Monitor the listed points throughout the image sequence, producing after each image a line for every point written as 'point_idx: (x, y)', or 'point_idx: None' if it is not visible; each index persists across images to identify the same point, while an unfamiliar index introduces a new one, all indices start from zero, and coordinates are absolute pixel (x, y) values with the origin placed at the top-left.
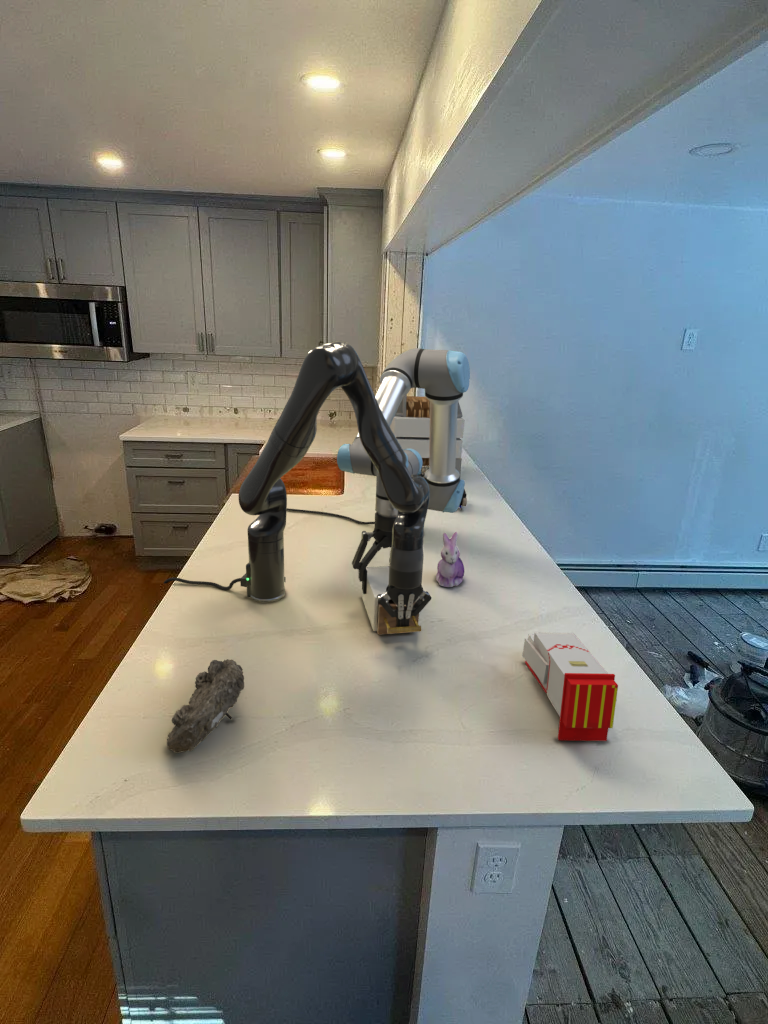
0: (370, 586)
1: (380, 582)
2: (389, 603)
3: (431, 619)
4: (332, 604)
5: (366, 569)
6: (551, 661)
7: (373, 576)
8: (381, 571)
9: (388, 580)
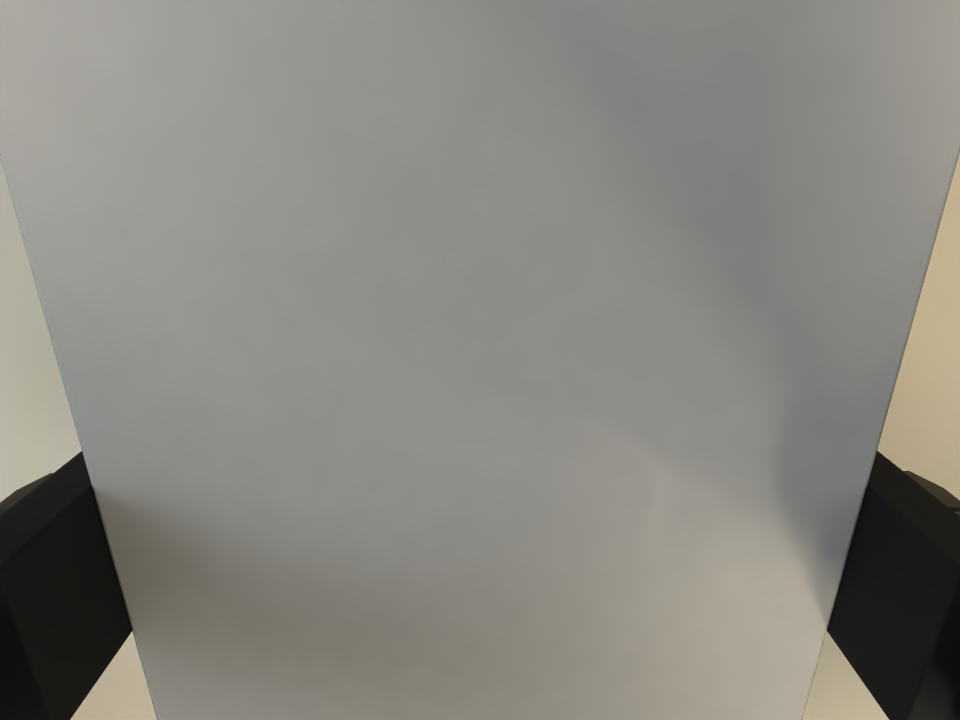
0: None
1: (694, 262)
2: None
3: None
4: (918, 422)
5: (935, 645)
6: None
7: (742, 506)
8: (549, 646)
9: (509, 327)
